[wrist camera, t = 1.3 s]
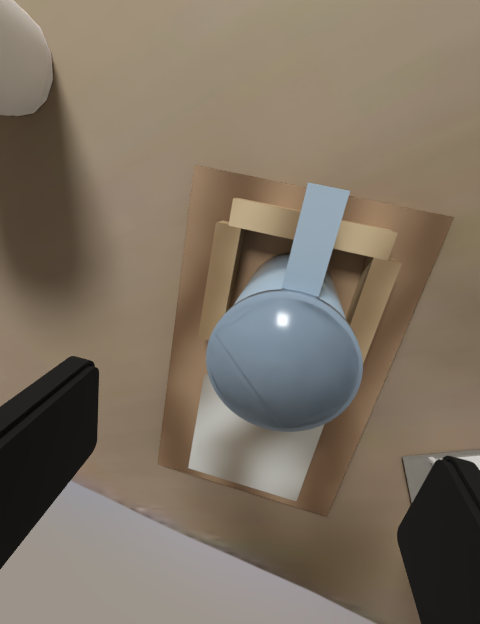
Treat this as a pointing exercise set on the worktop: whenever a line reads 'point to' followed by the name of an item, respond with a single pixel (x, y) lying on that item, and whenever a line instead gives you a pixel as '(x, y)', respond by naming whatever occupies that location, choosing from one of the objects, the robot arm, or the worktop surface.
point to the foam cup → (22, 62)
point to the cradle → (283, 223)
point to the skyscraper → (422, 465)
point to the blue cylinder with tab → (290, 332)
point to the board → (255, 250)
